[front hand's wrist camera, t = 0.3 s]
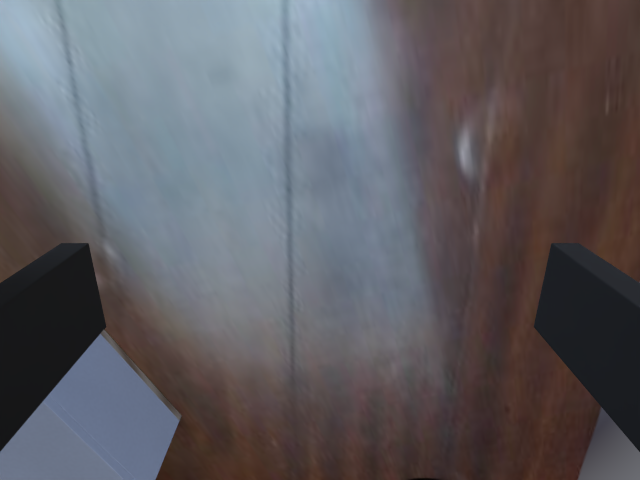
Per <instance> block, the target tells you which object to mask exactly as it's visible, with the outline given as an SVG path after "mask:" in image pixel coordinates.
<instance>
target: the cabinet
mask: <svg viewBox="0 0 640 480" xmlns="http://www.w3.org/2000/svg"><path fill="white" fill-rule="evenodd" d="M181 417H182V416H181V414H180V413H179V412H178V411H177V410H176V409H175V408H174V407H173V406H172V404H171V403H170V402H169V401H168V400H167V399H166V398H165V397H164V396H163V395H162V393H161V392H160V391H159V390H158V389H157V388H156V387H155V386H154V385H153V383H152V382H151V381H150V380H149V379H148V378H147V377H146V376H145V375H144V373H143V372H142V371H141V370H140V369H139V368H138V367H137V366H136V365H135V363H134V362H133V361H132V360H131V359H130V358H129V357H128V356H127V355H126V353H125V352H124V351H123V350H122V349H121V348H120V347H119V346H118V345H117V343H116V342H115V341H114V340H113V339H112V338H111V337H110V336H109V335H108V333H107V332H106V331H105V330H103V331H102V332H101V333H100V335H99V336H98V337H97V338H96V339H95V341H94V342H93V343H92V344H91V345H90V346H89V348H88V349H87V350H86V351H85V352H84V354H83V355H82V356H81V357H80V358H79V359H78V361H77V362H76V363H75V364H74V365H73V367H72V368H71V369H70V370H69V371H68V372H67V374H66V375H65V376H64V377H63V378H62V380H61V381H60V382H59V383H58V384H57V385H56V387H55V388H54V389H53V390H52V391H51V392H50V394H49V395H48V396H47V397H46V398H45V400H44V401H43V402H42V403H41V404H40V405H39V407H38V408H37V409H36V410H35V411H34V413H33V414H32V415H31V416H30V417H29V418H28V420H27V421H26V422H25V423H24V424H23V426H22V427H21V428H20V429H19V430H18V431H17V433H16V434H15V435H14V436H13V437H12V439H11V440H10V441H9V442H8V443H7V444H6V446H5V447H4V448H3V449H2V450H1V452H0V480H155V479H156V477H157V475H158V472H159V470H160V467H161V465H162V462H163V460H164V457H165V455H166V452H167V450H168V448H169V445H170V443H171V440H172V438H173V435H174V433H175V430H176V428H177V425H178V423H179V421H180V419H181Z"/></svg>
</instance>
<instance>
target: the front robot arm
mask: <svg viewBox="0 0 640 480" xmlns="http://www.w3.org/2000/svg"><path fill="white" fill-rule="evenodd" d="M105 328H106V324H105V319H104V314H103V310H102V305H101V300H100V295H99V291H98V286H97V281H96V277H95V272H94V267H93V262H92V258H91V253H90V248H89V244H88V243H61V244H60V245H58V246H57V247H55V248H53V249H52V250H50V251H49V252H47V253H46V254H44V255H43V256H41V257H40V258H38V259H37V260H35V261H34V262H32V263H31V264H29V265H27V266H26V267H24V268H23V269H21V270H20V271H18V272H17V273H15V274H14V275H12V276H11V277H9V278H8V279H6V280H5V281H3V282H1V283H0V452H1V450H2V449H3V448H4V447H5V446H6V444H7V443H8V442H9V441H10V440H11V439H12V437H13V436H14V435H15V434H16V433H17V431H18V430H19V429H20V428H21V427H22V426H23V424H24V423H25V422H26V421H27V420H28V418H29V417H30V416H31V415H32V414H33V413H34V411H35V410H36V409H37V408H38V407H39V405H40V404H41V403H42V402H43V401H44V400H45V398H46V397H47V396H48V395H49V394H50V392H51V391H52V390H53V389H54V388H55V387H56V385H57V384H58V383H59V382H60V381H61V380H62V378H63V377H64V376H65V375H66V374H67V372H68V371H69V370H70V369H71V368H72V367H73V365H74V364H75V363H76V362H77V361H78V359H79V358H80V357H81V356H82V355H83V354H84V352H85V351H86V350H87V349H88V348H89V346H90V345H91V344H92V343H93V342H94V341H95V339H96V338H97V337H98V336H99V335H100V333H101V332H102V331H103V330H104V329H105ZM534 328H535V329H536V330H537V331H538V332H539V333H540V335H541V336H542V337H543V338H544V339H545V341H546V342H547V343H548V344H549V345H550V346H551V348H552V349H553V350H554V351H555V352H556V354H557V355H558V356H559V357H560V358H561V359H562V361H563V362H564V363H565V364H566V365H567V367H568V368H569V369H570V370H571V371H572V372H573V374H574V375H575V376H576V377H577V378H578V380H579V381H580V382H581V383H582V384H583V385H584V387H585V388H586V389H587V390H588V391H589V392H590V394H591V395H592V396H593V397H594V398H595V400H596V401H597V402H598V403H599V404H600V405H601V407H602V408H603V409H604V410H605V411H606V413H607V414H608V415H609V416H610V417H611V418H612V420H613V421H614V422H615V423H616V424H617V426H618V427H619V428H620V429H621V430H622V431H623V433H624V434H625V435H626V436H627V437H628V438H629V440H630V441H631V442H632V443H633V444H634V446H635V447H636V448H637V449H638V450H639V452H640V283H639V282H637V281H635V280H634V279H632V278H631V277H629V276H628V275H626V274H625V273H623V272H622V271H620V270H619V269H617V268H616V267H614V266H613V265H611V264H609V263H608V262H606V261H605V260H603V259H602V258H600V257H599V256H597V255H596V254H594V253H593V252H591V251H590V250H588V249H587V248H585V247H583V246H582V245H580V244H579V243H552V244H551V248H550V253H549V258H548V262H547V267H546V272H545V277H544V281H543V286H542V291H541V295H540V300H539V305H538V310H537V314H536V319H535V324H534ZM422 480H431V479H422Z"/></svg>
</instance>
